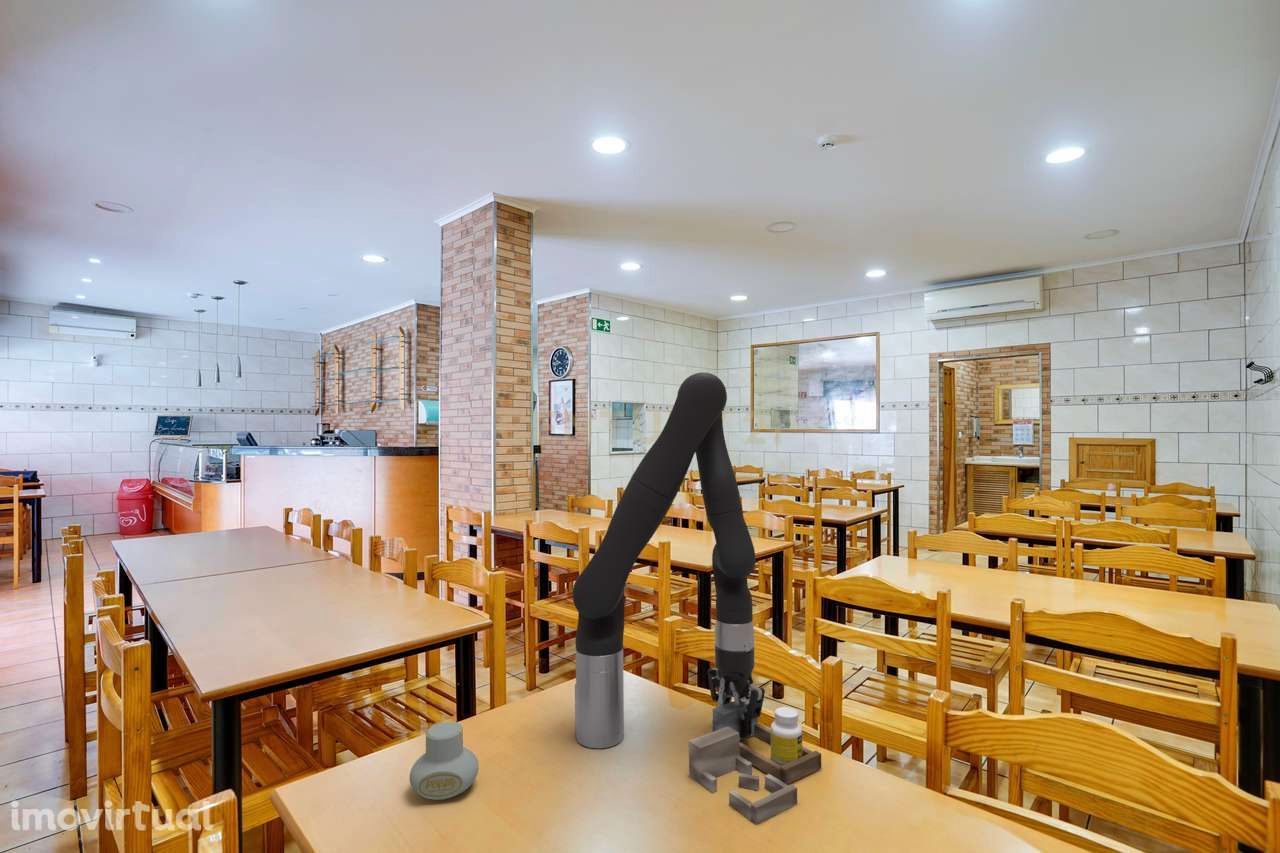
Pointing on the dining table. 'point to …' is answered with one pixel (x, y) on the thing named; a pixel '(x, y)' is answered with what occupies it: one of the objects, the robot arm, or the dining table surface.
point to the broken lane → (723, 756)
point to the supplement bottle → (786, 736)
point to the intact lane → (786, 773)
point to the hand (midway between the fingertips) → (735, 731)
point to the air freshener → (444, 764)
